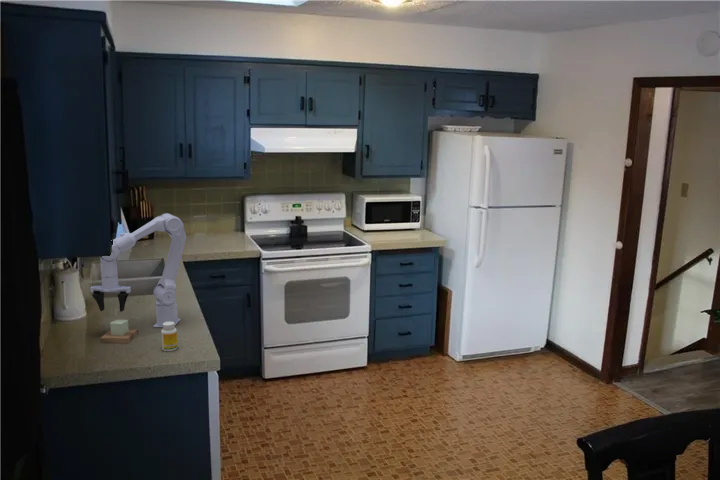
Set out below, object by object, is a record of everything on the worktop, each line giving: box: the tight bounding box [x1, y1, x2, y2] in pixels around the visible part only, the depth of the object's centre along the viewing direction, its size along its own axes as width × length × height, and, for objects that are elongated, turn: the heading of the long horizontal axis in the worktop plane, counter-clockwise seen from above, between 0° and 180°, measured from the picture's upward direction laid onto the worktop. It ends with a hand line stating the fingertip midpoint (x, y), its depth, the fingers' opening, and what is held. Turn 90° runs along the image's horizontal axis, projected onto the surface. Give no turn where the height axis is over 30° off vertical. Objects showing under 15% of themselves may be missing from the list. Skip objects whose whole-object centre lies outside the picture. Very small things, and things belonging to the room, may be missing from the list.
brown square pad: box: [100, 328, 139, 345], centre depth 233 cm, size 10×10×2 cm
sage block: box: [109, 318, 130, 336], centre depth 232 cm, size 4×4×4 cm
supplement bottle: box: [160, 322, 179, 352], centre depth 222 cm, size 5×5×10 cm
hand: (112, 310), depth 235 cm, fingers open, 7 cm apart
